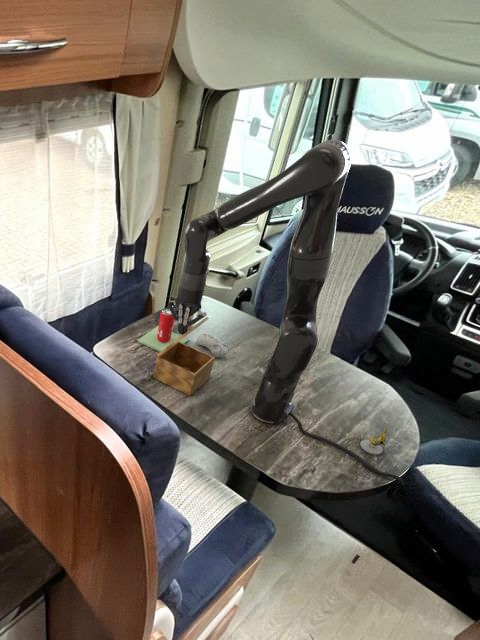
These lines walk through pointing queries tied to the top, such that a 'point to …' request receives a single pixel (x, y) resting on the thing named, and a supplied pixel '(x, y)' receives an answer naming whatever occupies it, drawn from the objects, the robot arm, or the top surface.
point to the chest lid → (182, 336)
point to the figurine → (374, 444)
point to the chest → (183, 367)
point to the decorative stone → (212, 344)
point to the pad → (153, 342)
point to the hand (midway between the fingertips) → (181, 333)
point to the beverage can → (165, 326)
